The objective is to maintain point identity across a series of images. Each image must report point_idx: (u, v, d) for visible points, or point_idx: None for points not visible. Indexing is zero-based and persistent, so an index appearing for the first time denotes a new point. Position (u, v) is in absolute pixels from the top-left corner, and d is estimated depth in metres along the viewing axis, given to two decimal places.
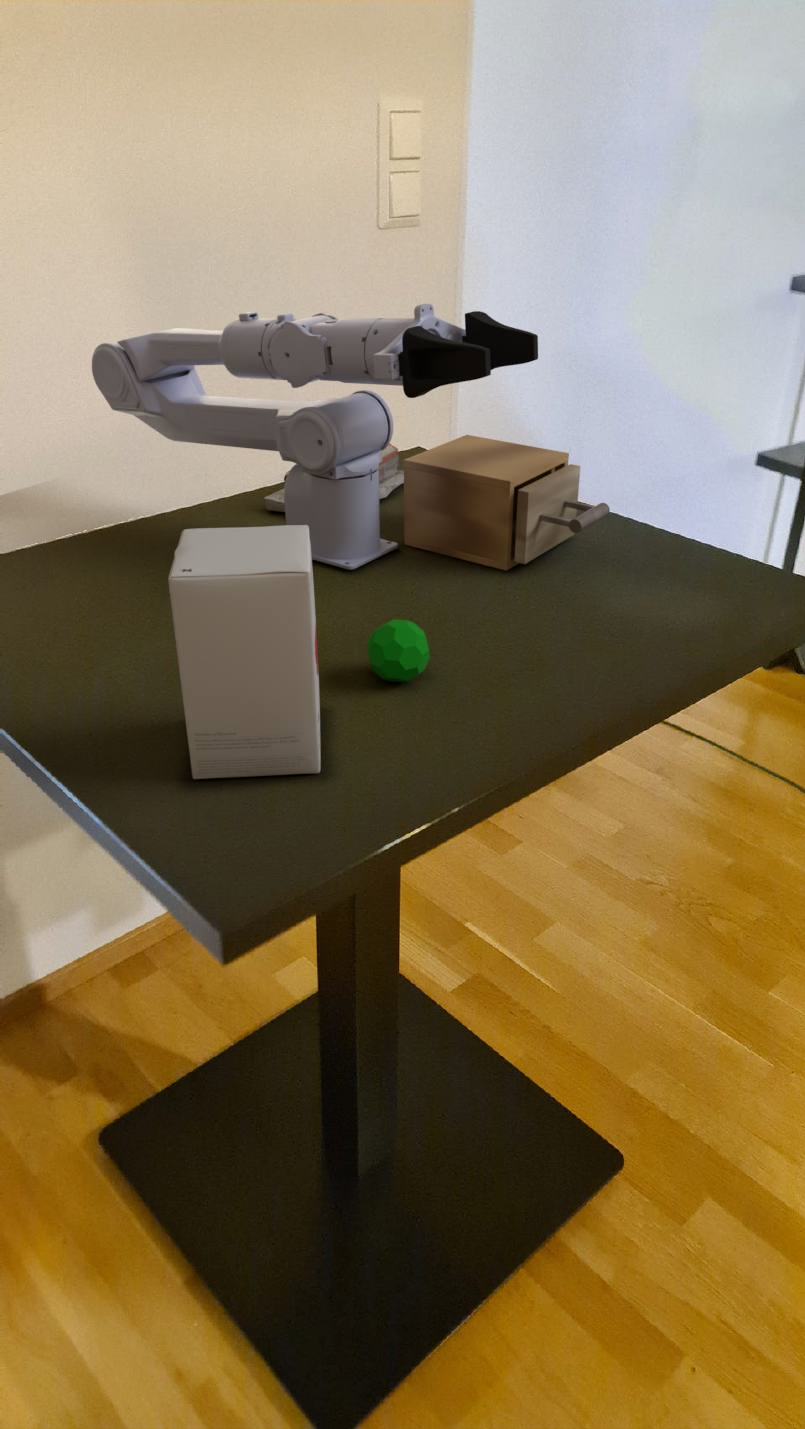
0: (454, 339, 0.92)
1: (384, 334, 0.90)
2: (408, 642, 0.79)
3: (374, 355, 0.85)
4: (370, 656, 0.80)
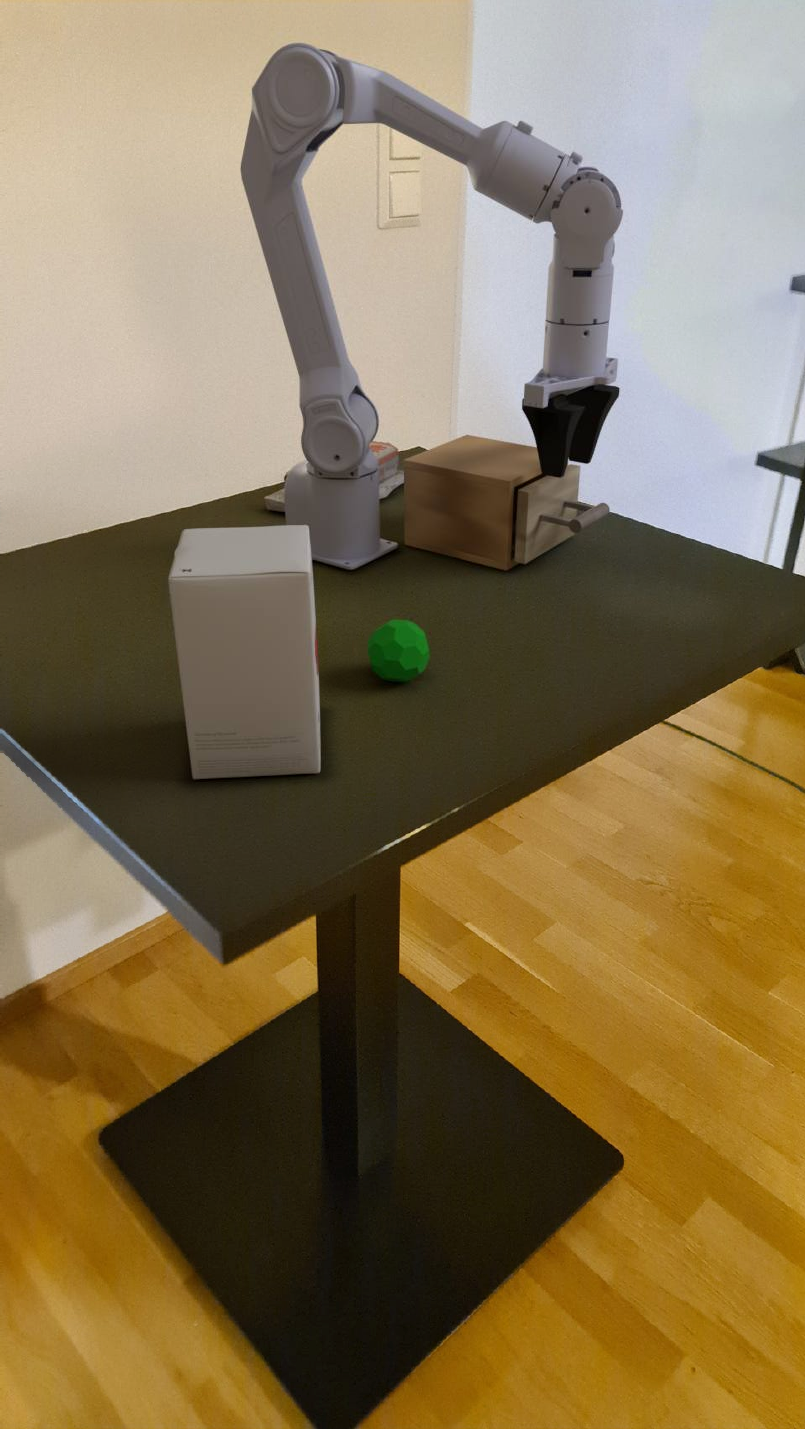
0: None
1: (582, 347, 0.91)
2: (408, 642, 0.79)
3: (543, 388, 0.89)
4: (370, 656, 0.80)
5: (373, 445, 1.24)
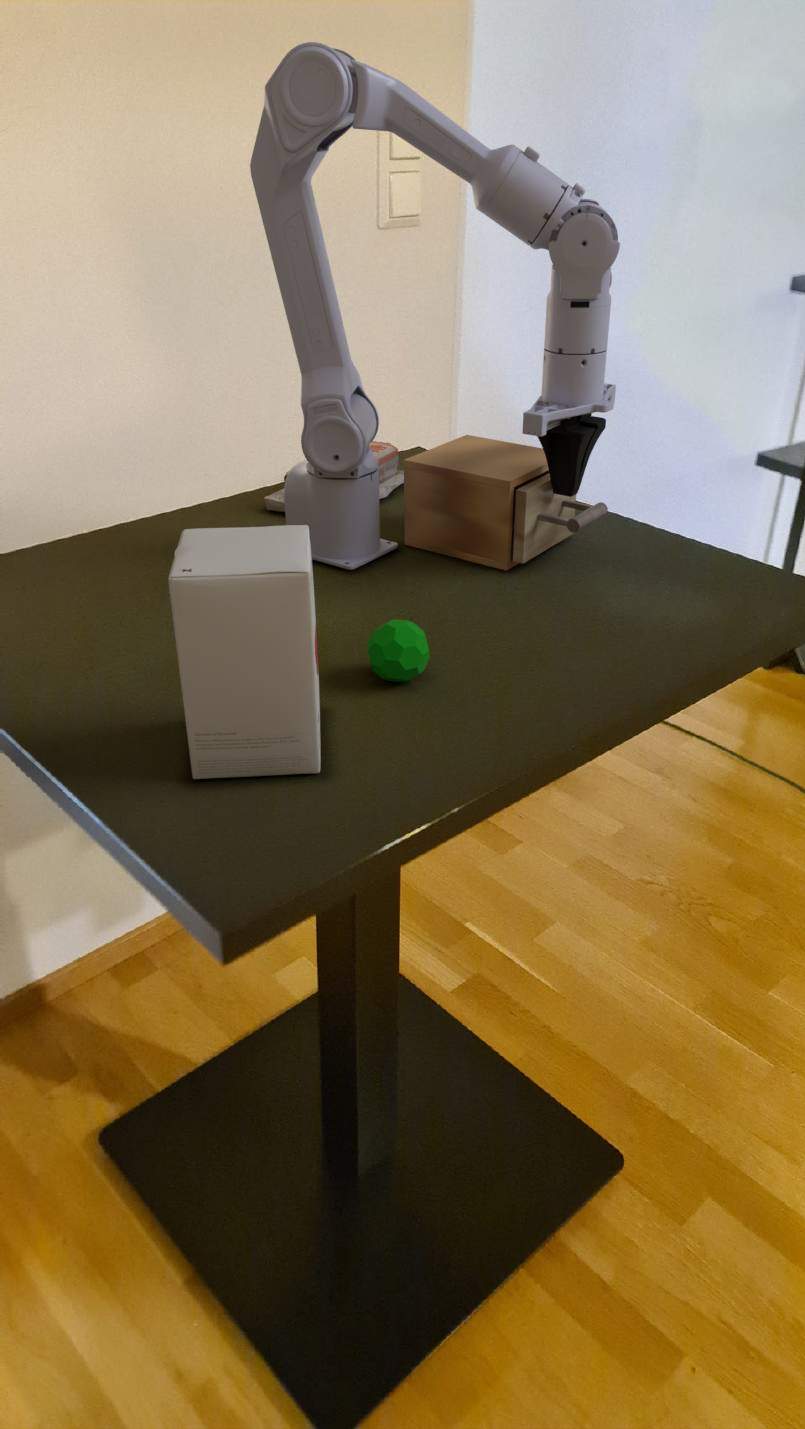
0: None
1: (580, 376, 0.92)
2: (408, 642, 0.79)
3: (542, 417, 0.90)
4: (370, 656, 0.80)
5: (373, 445, 1.24)
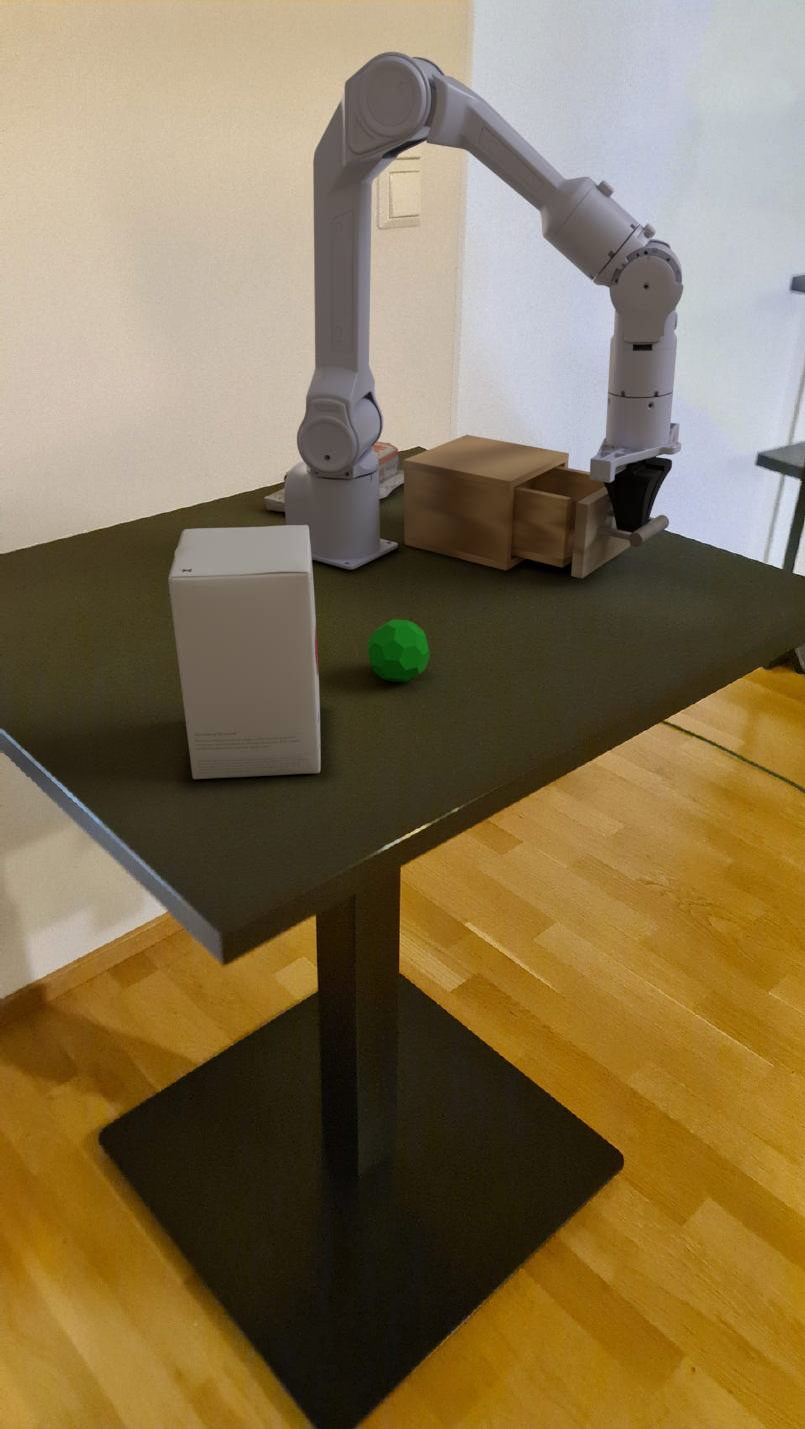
0: None
1: (647, 419, 0.90)
2: (408, 642, 0.79)
3: (610, 463, 0.88)
4: (370, 656, 0.80)
5: (373, 445, 1.24)
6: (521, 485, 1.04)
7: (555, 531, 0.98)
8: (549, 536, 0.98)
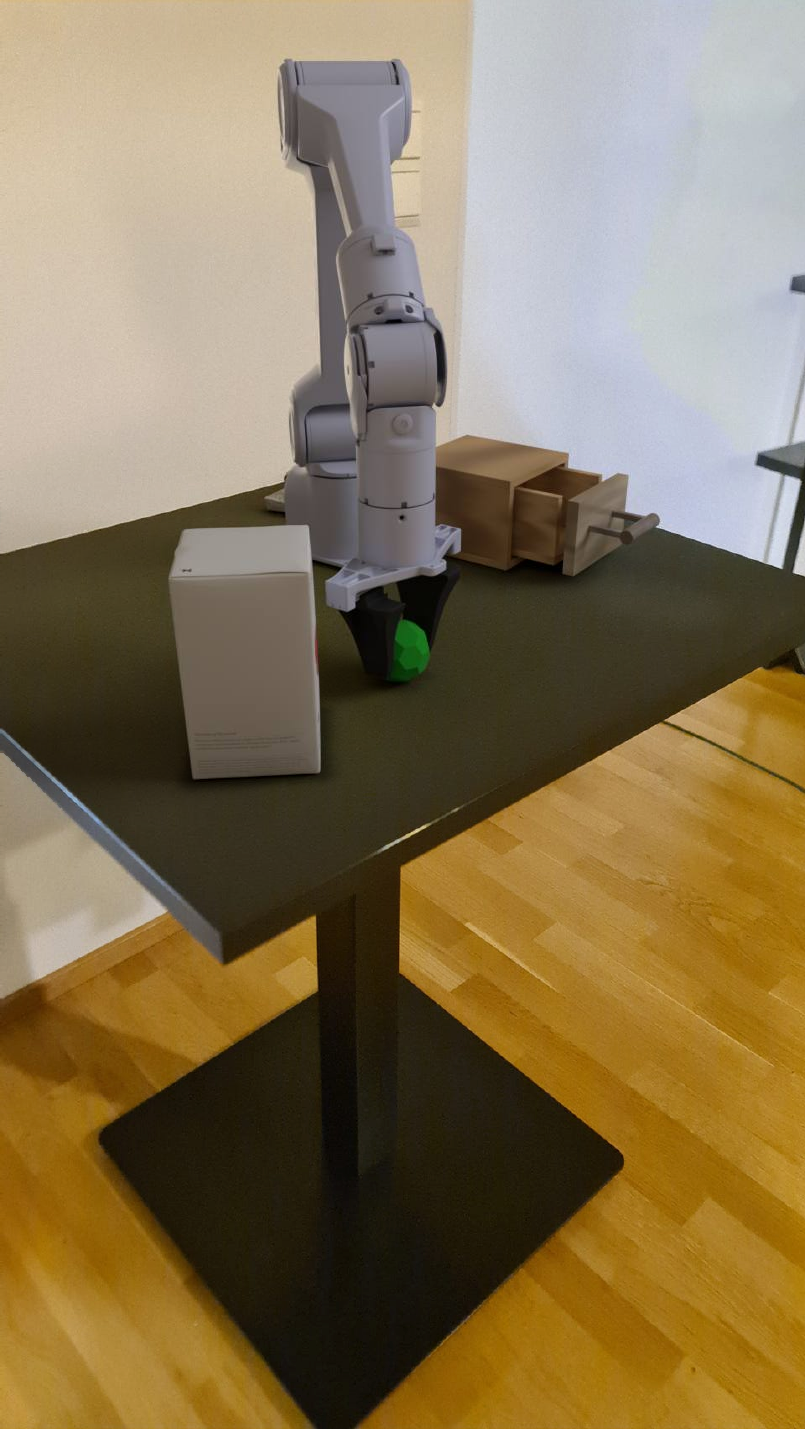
0: None
1: (399, 534, 0.73)
2: (409, 642, 0.79)
3: (346, 589, 0.71)
4: None
5: None
6: None
7: (546, 529, 0.98)
8: (540, 534, 0.99)
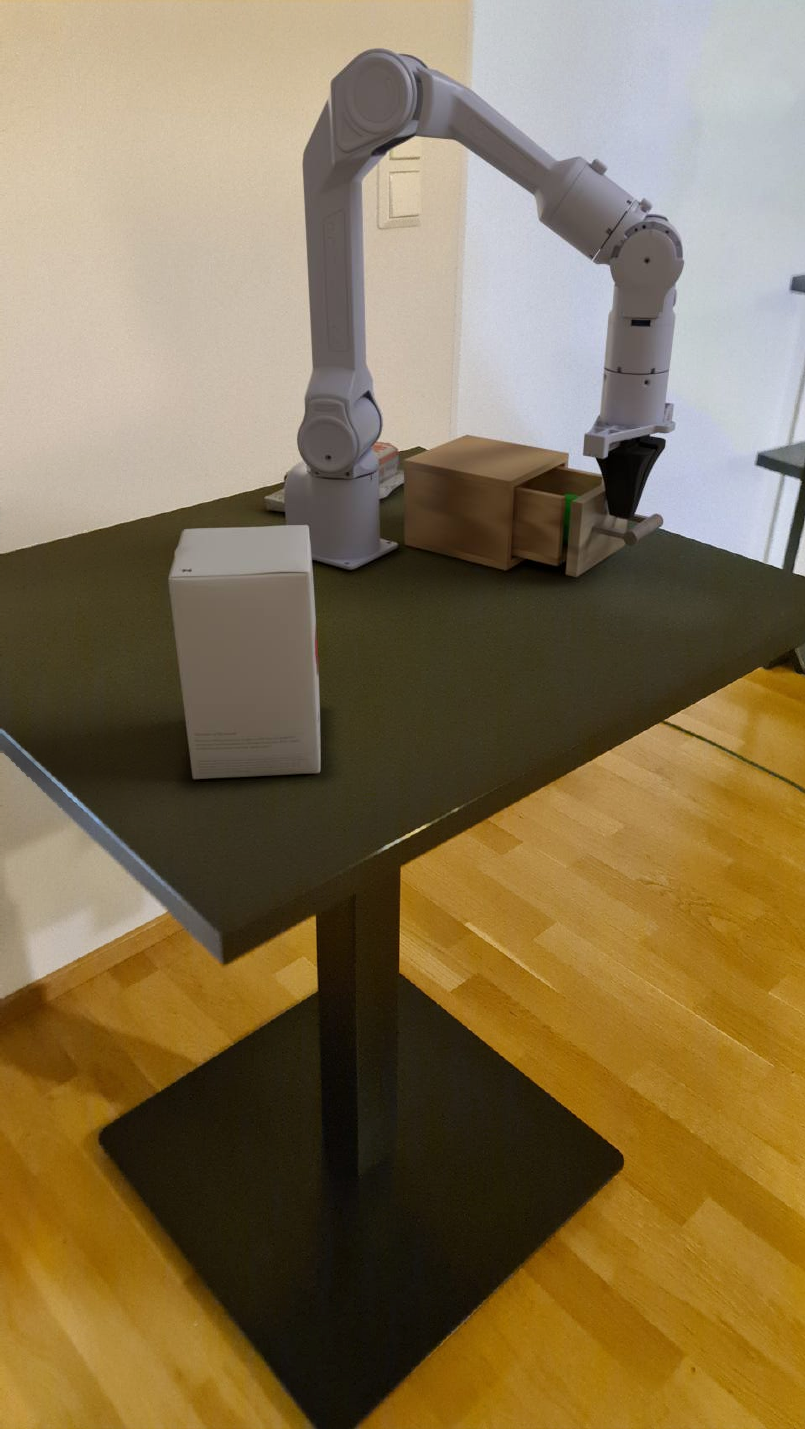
0: None
1: (643, 396, 0.89)
2: None
3: (604, 439, 0.88)
4: None
5: (373, 445, 1.24)
6: None
7: (549, 530, 0.98)
8: (544, 535, 0.99)
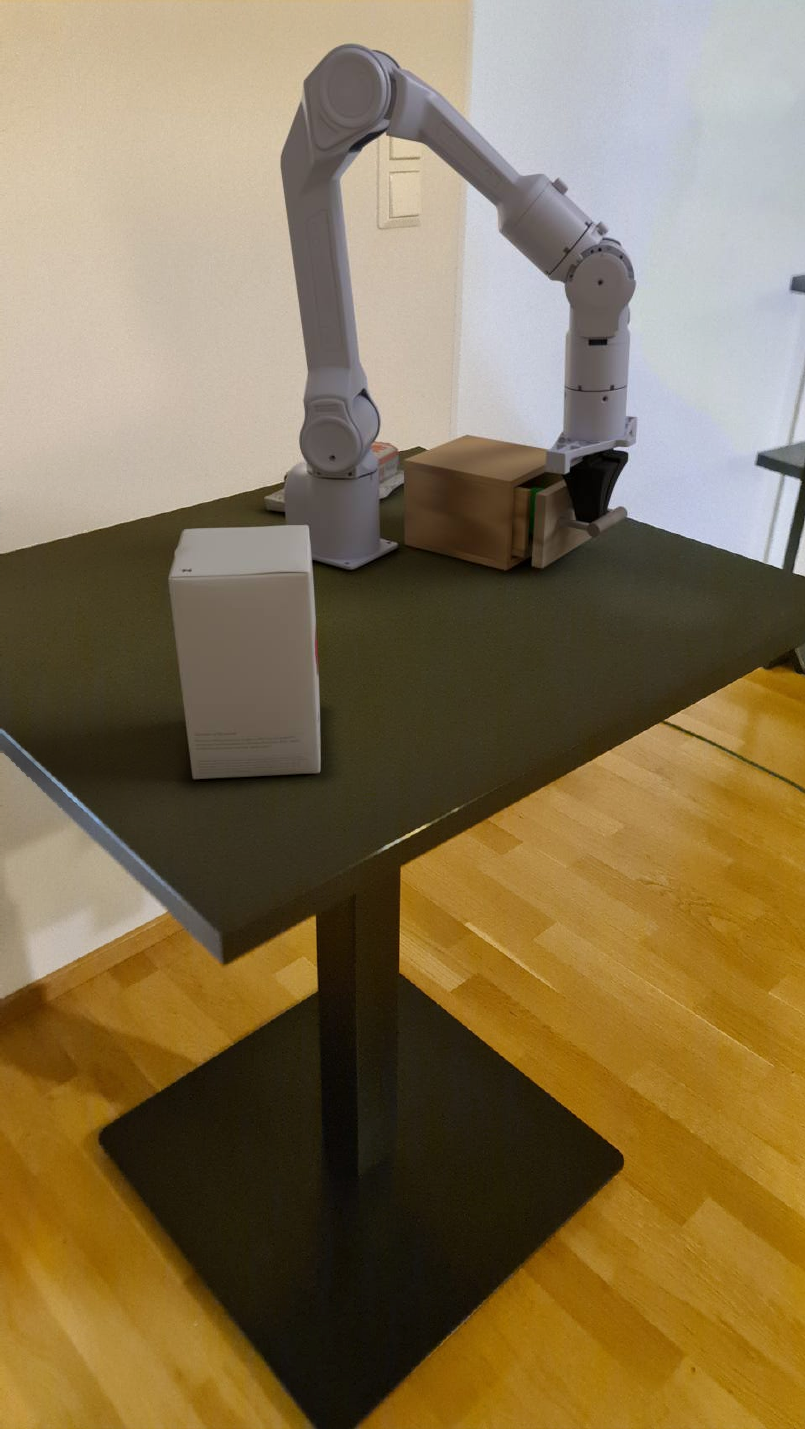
0: None
1: (602, 412, 0.92)
2: None
3: (564, 455, 0.91)
4: None
5: (373, 445, 1.24)
6: None
7: (516, 522, 1.00)
8: None
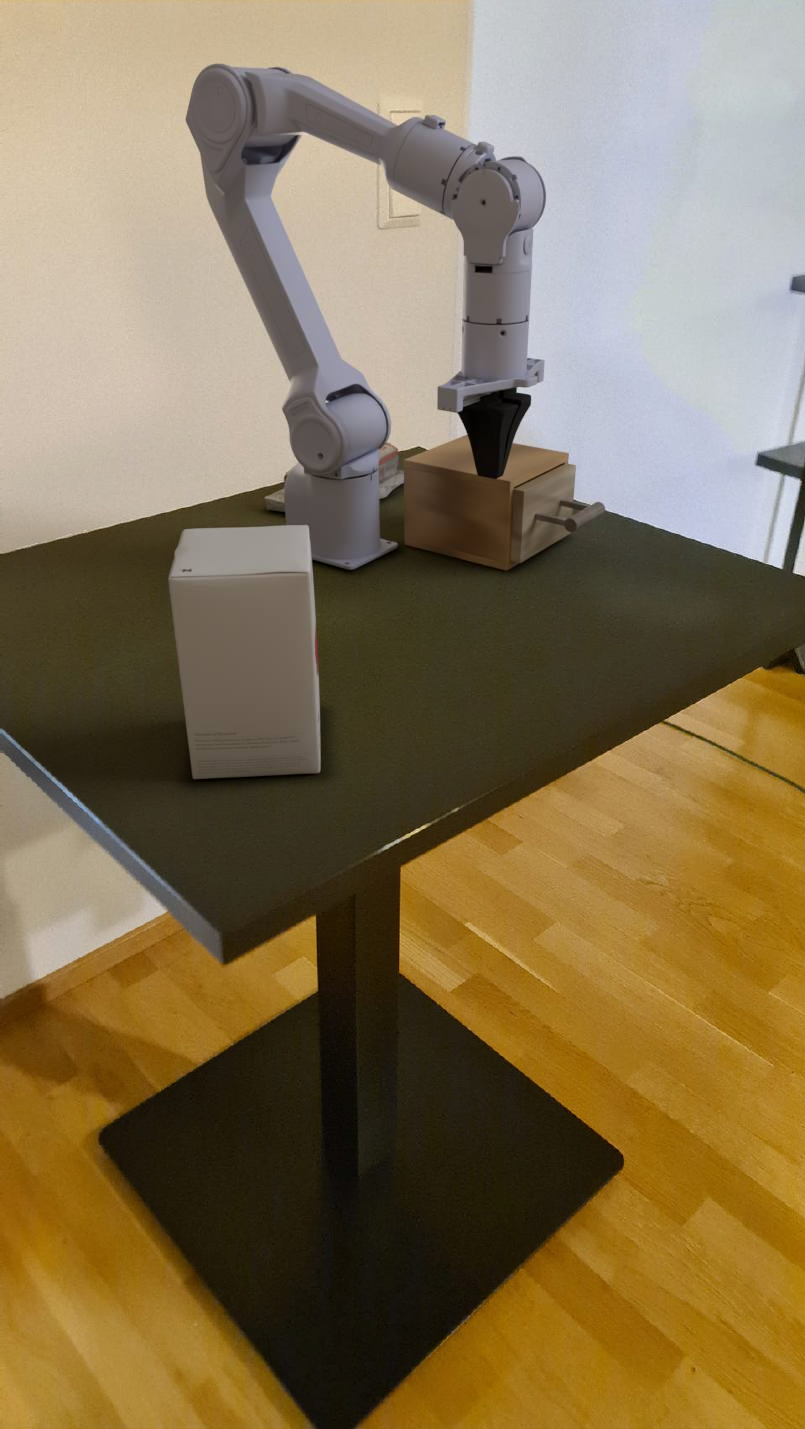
0: None
1: (499, 348, 0.86)
2: None
3: (456, 391, 0.84)
4: None
5: None
6: None
7: None
8: None
